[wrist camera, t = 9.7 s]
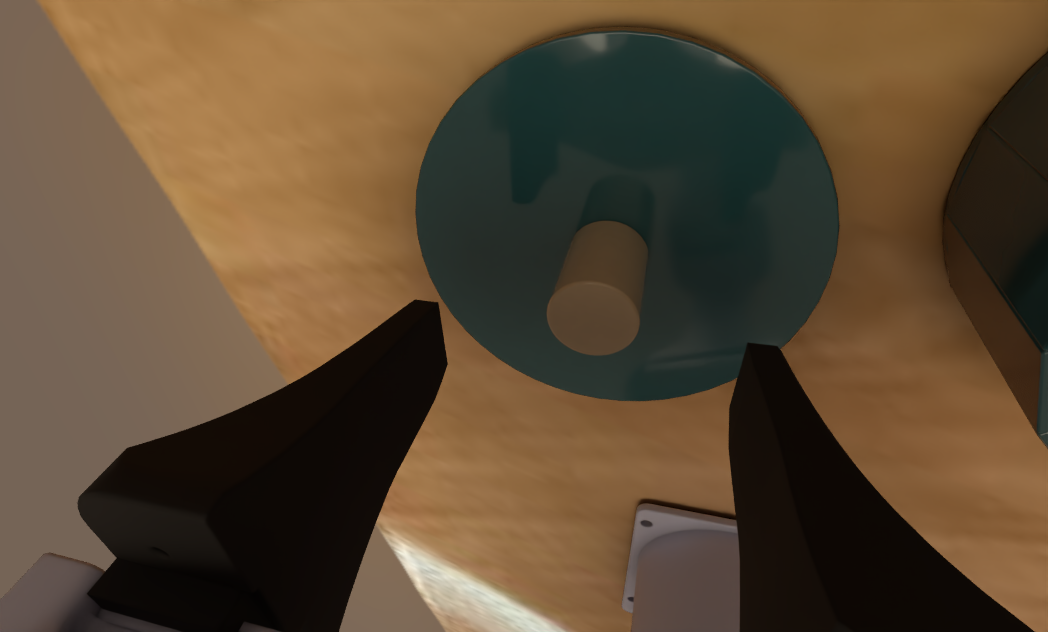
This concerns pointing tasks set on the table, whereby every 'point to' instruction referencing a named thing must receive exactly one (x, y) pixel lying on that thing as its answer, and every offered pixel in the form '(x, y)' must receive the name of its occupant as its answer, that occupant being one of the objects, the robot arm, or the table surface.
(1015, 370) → the canister
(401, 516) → the table surface
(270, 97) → the table surface
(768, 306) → the lid
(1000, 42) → the table surface
